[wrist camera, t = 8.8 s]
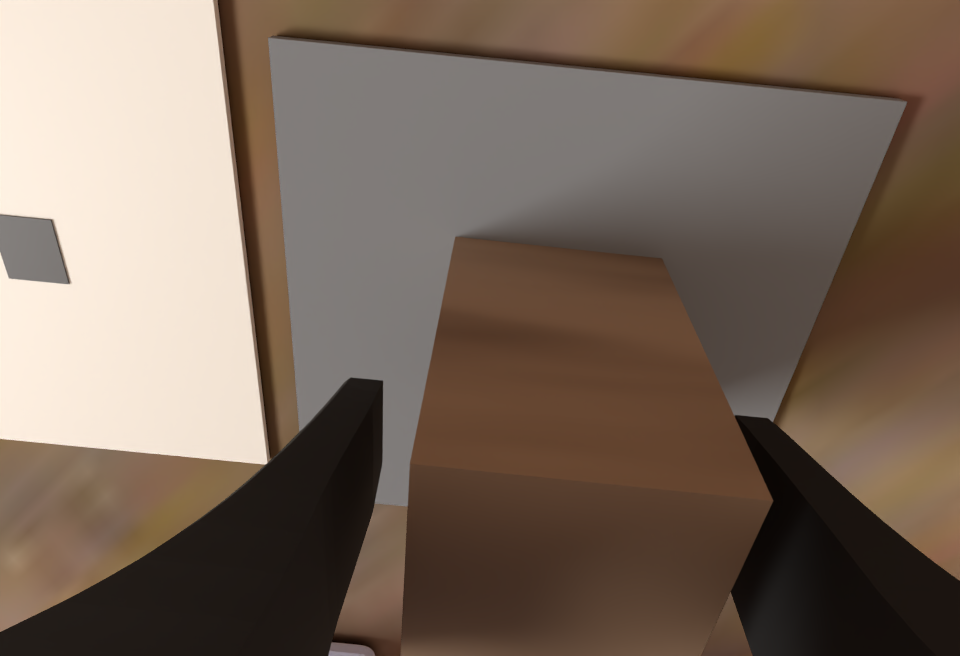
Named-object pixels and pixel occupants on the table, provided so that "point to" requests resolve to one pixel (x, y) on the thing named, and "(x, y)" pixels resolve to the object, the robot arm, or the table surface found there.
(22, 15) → the cream mat
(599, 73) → the grey mat
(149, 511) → the table surface
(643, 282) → the walnut block
